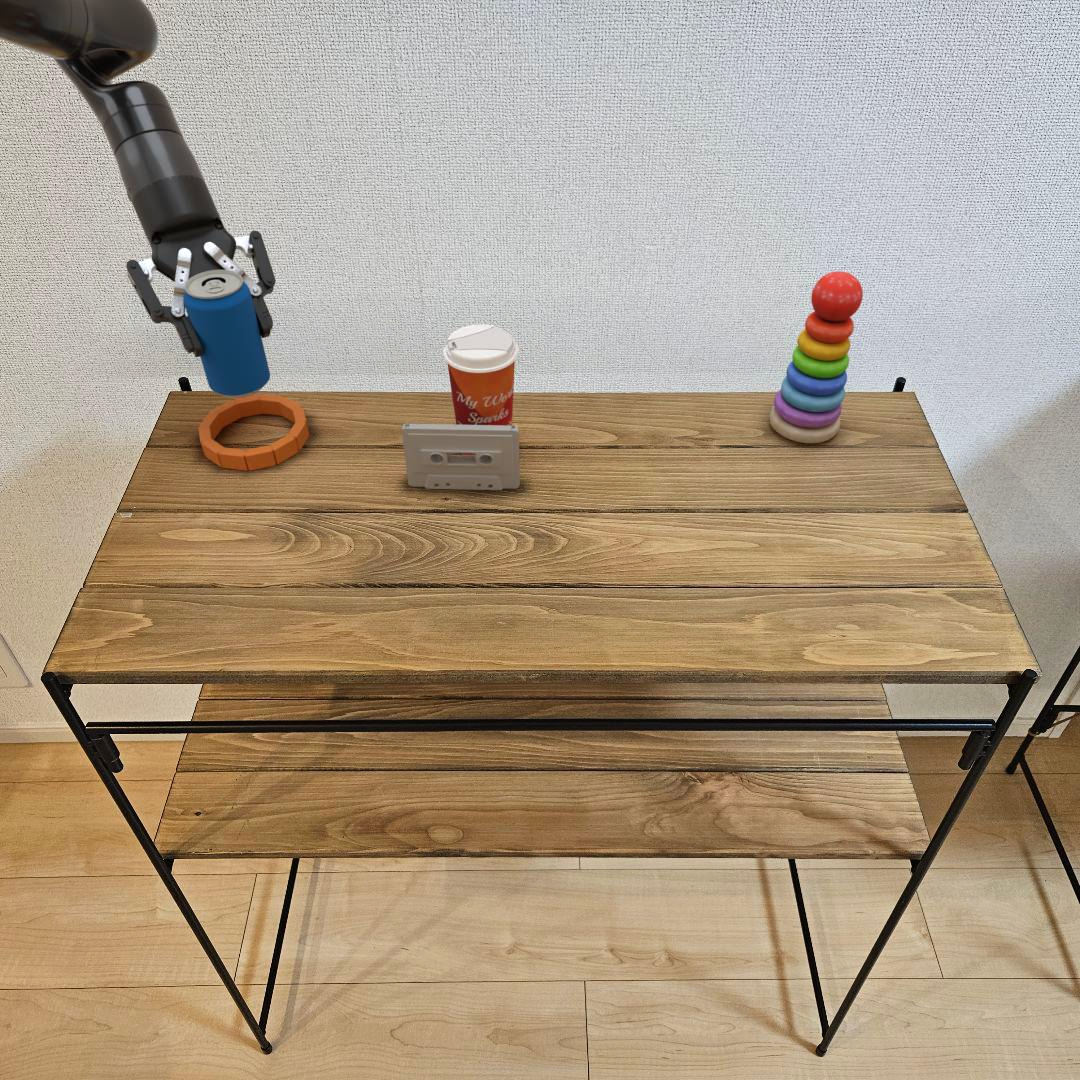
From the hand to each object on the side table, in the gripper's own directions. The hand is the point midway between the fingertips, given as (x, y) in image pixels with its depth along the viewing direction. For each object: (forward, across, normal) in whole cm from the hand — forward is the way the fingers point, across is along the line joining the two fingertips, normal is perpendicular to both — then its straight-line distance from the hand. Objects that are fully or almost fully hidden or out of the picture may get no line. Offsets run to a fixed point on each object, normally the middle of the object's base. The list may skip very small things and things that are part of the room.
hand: (233, 344), depth 91 cm
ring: (+8, 0, +10) cm, 13 cm away
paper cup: (+20, +21, -1) cm, 29 cm away
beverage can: (+3, 0, +5) cm, 6 cm away
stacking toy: (+31, +54, -12) cm, 64 cm away
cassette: (+22, +16, -4) cm, 28 cm away
